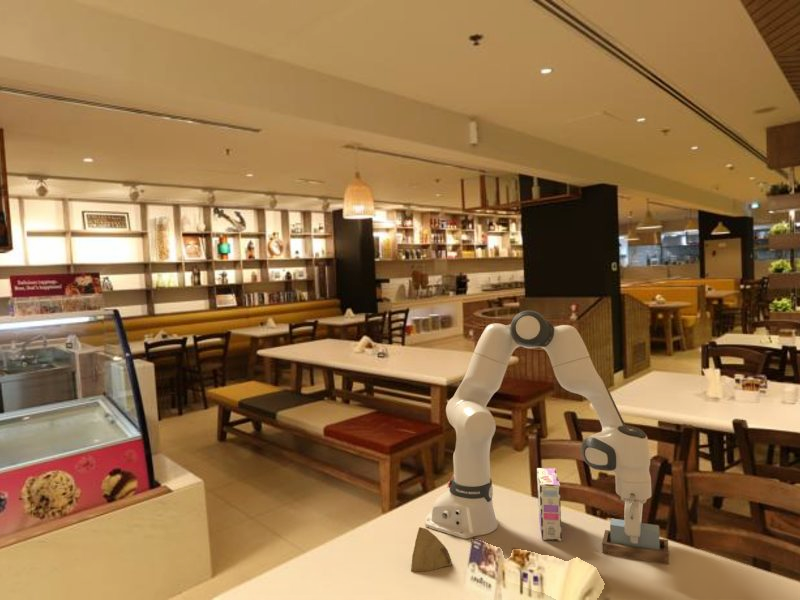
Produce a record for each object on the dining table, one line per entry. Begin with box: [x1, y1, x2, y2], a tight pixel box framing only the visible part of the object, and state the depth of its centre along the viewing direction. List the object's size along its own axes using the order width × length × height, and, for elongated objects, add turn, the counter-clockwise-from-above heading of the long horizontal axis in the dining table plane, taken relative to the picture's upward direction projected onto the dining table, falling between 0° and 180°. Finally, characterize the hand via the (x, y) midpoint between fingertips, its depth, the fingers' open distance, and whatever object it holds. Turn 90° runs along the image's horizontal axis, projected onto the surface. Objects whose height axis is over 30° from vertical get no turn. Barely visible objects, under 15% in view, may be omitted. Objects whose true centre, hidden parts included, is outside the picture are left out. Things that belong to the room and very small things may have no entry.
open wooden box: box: [601, 529, 670, 565], centre depth 142 cm, size 16×8×4 cm, turn 63°
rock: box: [410, 526, 453, 573], centre depth 139 cm, size 11×9×10 cm
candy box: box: [536, 467, 563, 542], centre depth 156 cm, size 14×6×16 cm, turn 168°
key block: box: [609, 518, 661, 551], centre depth 142 cm, size 4×12×5 cm, turn 63°
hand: (634, 537), depth 142 cm, fingers closed on key block, 4 cm apart
